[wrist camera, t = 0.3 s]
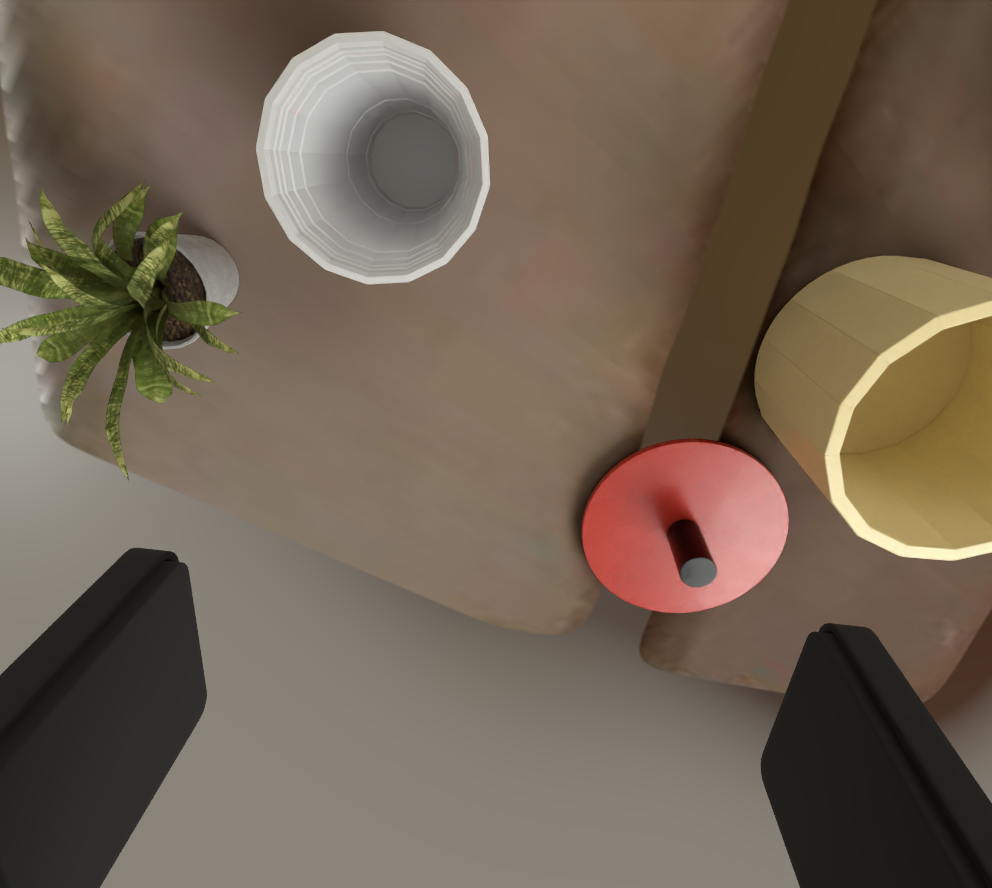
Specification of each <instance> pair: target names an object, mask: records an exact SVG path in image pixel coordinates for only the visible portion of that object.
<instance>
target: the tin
mask: <svg viewBox="0 0 992 888" xmlns="http://www.w3.org/2000/svg"><path fill="white" fill-rule="evenodd" d="M754 384H755V393H756V398H757V402H758V405H759V408H760V411H761V416H762V418H763V419H764V420H765V421H766V423H767V424H768V425H769V427H770V428H771V429H772V431H773V432H774V433H775V434H776V436H777V437H778V438H779V440H780V441H781V442H782V443H783V445H784V446H785V447H786V448H787V450H788V451H789V452H790V453H791V455H792V456H793V457H794V458H795V459H796V461H797V462H798V463H799V464H800V466H801V467H802V468H803V469H804V471H805V472H806V473H807V474H808V476H809V477H810V478H811V479H812V480H813V482H814V483H815V484H816V485H817V487H818V488H819V489H820V490H821V492H822V493H823V494H824V495H825V497H826V498H827V499H828V500H829V501H830V503H831V504H832V505H833V506H834V508H835V509H836V510H837V511H838V513H839V514H840V515H841V516H842V518H843V519H844V520H845V521H846V522H847V524H848V525H849V526H850V527H851V529H852V530H853V531H854V532H855V534H856V535H857V536H859V537H861V538H863V539H865V540H867V541H869V542H871V543H873V544H875V545H877V546H880V547H882V548H884V549H886V550H888V551H890V552H892V553H894V554H896V555H898V556H901V557H912V558H924V559H936V560H948V561H953V560H959V559H964V558H968V557H973V556H977V555H982V554H986V553H991V552H992V278H989V277H986V276H983V275H979V274H976V273H973V272H969V271H966V270H963V269H959V268H956V267H952V266H949V265H946V264H942V263H939V262H936V261H932V260H929V259H923V258H912V257H904V256H877V257H870V258H865V259H861V260H857V261H853V262H850V263H848V264H845V265H842V266H840V267H837V268H835V269H833V270H831V271H829V272H827V273H825V274H823V275H821V276H820V277H818V278H817V279H815V280H814V281H812V282H811V283H809V284H808V285H807V286H805V287H804V288H803V289H802V290H800V291H799V292H798V293H797V294H796V295H795V296H794V297H793V298H792V299H791V300H790V301H789V302H788V303H787V304H786V305H785V306H784V307H783V308H782V310H781V311H780V312H779V314H778V315H777V316H776V317H775V319H774V321H773V322H772V324H771V325H770V327H769V329H768V330H767V332H766V335H765V337H764V339H763V341H762V343H761V346H760V350H759V353H758V356H757V361H756V366H755V380H754Z"/></svg>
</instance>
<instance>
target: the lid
mask: <svg viewBox="0 0 992 888" xmlns="http://www.w3.org/2000/svg"><path fill="white" fill-rule="evenodd" d="M788 526H789V514H788V506H787V502H786V499H785V495H784V493H783V491H782V489H781V487H780V485H779V483H778V482H777V480H776V479H775V477H774V476H773V475H772V473H771V472H770V471H769V470H768V469H767V468H766V467H765V466H764V464H762V463H761V462H760V461H759V460H757V459H756V458H755V457H754V456H752V455H750V454H749V453H747V452H745V451H743V450H742V449H739V448H737V447H734V446H732V445H730V444H726V443H722V442H718V441H713V440H706V439H680V440H671V441H667V442H662V443H659V444H655V445H652V446H649V447H646V448H644V449H642V450H640V451H638V452H636V453H633V454H632V455H630V456H629V457H627V458H625V459H624V460H622V461H621V462H619V463H618V464H617V465H616V466H614V467H613V468H612V469H611V470H610V471H609V472H608V473H607V474H606V475H605V476H604V477H603V478H602V479H601V481H600V482H599V483H598V485H597V486H596V487H595V489H594V491H593V492H592V494H591V496H590V498H589V500H588V502H587V505H586V508H585V510H584V515H583V520H582V542H583V549H584V552H585V556H586V559H587V561H588V563H589V566H590V568H591V569H592V571H593V572H594V574H595V576H596V577H597V578H598V579H599V580H600V582H601V583H602V584H603V585H604V586H605V587H606V588H607V589H609V590H610V591H611V592H612V593H614V594H615V595H617V596H618V597H619V598H621V599H623V600H625V601H627V602H629V603H631V604H634V605H636V606H639V607H641V608H645V609H649V610H653V611H659V612H666V613H686V612H695V611H701V610H706V609H710V608H713V607H717V606H719V605H722V604H725V603H727V602H729V601H731V600H733V599H735V598H737V597H739V596H741V595H742V594H744V593H746V592H747V591H749V590H750V589H751V588H753V587H754V586H755V585H756V584H757V583H759V582H760V581H761V580H762V579H763V578H764V577H765V576H766V575H767V574H768V573H769V571H770V570H771V569H772V567H773V566H774V564H775V563H776V561H777V560H778V558H779V556H780V554H781V552H782V550H783V547H784V545H785V542H786V538H787V533H788Z"/></svg>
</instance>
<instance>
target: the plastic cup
mask: <svg viewBox="0 0 992 888" xmlns="http://www.w3.org/2000/svg"><path fill="white" fill-rule="evenodd" d="M256 152H257V157H258V163H259V168H260V174H261V179H262V184H263V190H264V195H265V198H266V200H267V202H268V204H269V205H270V207H271V209H272V211H273V212H274V214H275V216H276V217H277V219H278V221H279V223H280V224H281V226H282V228H283V229H284V231H285V233H286V235H287V236H288V238H289V240H290V241H292V242H293V243H294V244H295V245H296V246H298V247H299V248H300V249H301V250H302V251H304V252H305V253H306V254H307V255H308V256H309V257H311V258H312V259H313V260H314V261H315V262H317V263H318V264H319V265H320V266H321V267H323V268H324V269H325V270H327V271H330V272H333V273H336V274H339V275H342V276H345V277H347V278H350V279H353V280H356V281H359V282H362V283H365V284H383V283H402V282H410V281H412V280H414V279H417V278H419V277H421V276H423V275H425V274H427V273H429V272H431V271H433V270H435V269H437V268H439V267H441V266H443V265H445V264H447V263H448V262H449V260H450V259H451V258H452V257H453V256H454V255H455V253H456V252H457V251H458V250H459V249H460V248H461V246H462V245H463V244H464V243H465V242H466V241H467V239H468V238H469V237H470V236H471V235H472V233H473V232H474V231H475V230H476V227H477V224H478V221H479V218H480V215H481V212H482V209H483V206H484V202H485V199H486V196H487V193H488V190H489V187H490V174H489V153H488V135H487V133H486V131H485V128H484V126H483V124H482V121H481V119H480V117H479V114H478V112H477V110H476V107H475V105H474V103H473V100H472V98H471V96H470V93H469V91H468V89H467V87H466V86H465V85H464V84H463V83H462V82H461V81H460V80H459V79H458V78H457V77H456V76H455V75H454V74H453V73H452V72H451V71H450V70H449V69H448V68H447V67H446V66H445V65H444V64H443V63H442V62H441V61H440V60H439V59H438V58H437V57H436V56H435V55H434V54H433V53H432V51H431V50H428V49H426V48H423V47H421V46H418V45H416V44H414V43H411V42H409V41H406V40H404V39H402V38H399V37H397V36H394V35H392V34H389V33H387V32H385V31H374V32H356V33H337V34H333V35H331V36H329V37H328V38H326V39H324V40H323V41H321V42H319V43H317V44H316V45H314V46H312V47H310V48H309V49H307V50H305V51H304V52H302V53H300V54H298V55H297V56H295V57H293V58H292V59H291V61H290V62H289V64H288V65H287V67H286V68H285V70H284V71H283V73H282V74H281V76H280V77H279V79H278V80H277V82H276V83H275V85H274V86H273V88H272V89H271V91H270V92H269V93H268V95H267V96H266V98H265V101H264V107H263V112H262V117H261V123H260V128H259V133H258V139H257V144H256Z"/></svg>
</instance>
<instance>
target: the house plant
mask: <svg viewBox="0 0 992 888" xmlns="http://www.w3.org/2000/svg"><path fill="white" fill-rule="evenodd" d="M144 182H145V181H144ZM144 182H143V183H142V184H140V185H139V186H137V187H136V188H135V189H134V190H133V191H131V192H130V193H128V194H127V195H125V196H124V197H123V198H122V199H121V200H120V201H119V202H118V203H116V204H114V205H113V206H112V207H111V208H110V209H108V210H107V211H106V212H105V213H104V215H103V216H102V217H101V218H100V219H99V220H98V222H97V224H96V226H95V228H94V230H93V235H92V240H91V241H92V246H93V250H94V253H93V251H92V250H91V249H90V248H89V246H88V245H86V244H85V243H84V242H83V241H81V240H80V239H79V238H77V237H76V236H75V235H74V234H73V233H72V232H70V231H69V230H68V229H67V228H66V226H65V225H64V223H63V222H62V220H61V218H60V217H59V215H58V213H57V211H56V209H55V208H54V207H53V205H52V204H51V203H50V201H49V200H48V199H47V198H46V196H45V194H44V193H43V187H42V189H41V193H40V205H41V213H42V218H43V220H44V223H45V225H46V227H47V229H48V231H49V233H50V235H51V236H52V237H53V239H54V240H55V241H56V242H57V244H58V245H59V246H60V247H61V249H62V250H63V251H64V252H65V253H66V255H64V254H62V253H59V252H57V251H54V250H50V249H47V248H43V246H42V244H41V242H40V240H39V238H38V236H37V234H36V232H35V230H34V228H33V227H32V225H31V223H30V222H29V223H30V225H31V228H32V230H33V232H34V235H35V237H36V239H37V242H38V245H39V246H36V245H34V244H32V243H30V242H28V241H27V238H26V242H27V246H28V249H29V251H30V254H31V257H32V259H33V260H34V261H35V262H36V263H37V264H38V265H39V266H41V267H42V268H43V269H44V270H42V269H39V268H36V267H33V266H29V265H26V264H23V263H20V262H17V261H14V260H11V259H8V258H5V257H0V285H2V286H6V287H9V288H12V289H15V290H18V291H21V292H24V293H26V294H30V295H34V296H38V297H42V298H46V299H58V298H69V299H73V300H74V301H75V302H76V303H79V304H81V306H76V307H71V308H67V309H63V310H60V311H56V312H52V313H48V314H43V315H38V316H33V317H30V318H27V319H25V320H22V321H19V322H17V323H15V324H13V325H11V326H9V327H7V328H5V329H3V330H1V331H0V344H2V343H6V342H14V341H20V340H23V339H26V338H28V337H31V336H44V335H52V334H54V335H52V336H50V337H48V338H46V339H45V340H44V341H43V342H42V343H41V345H40V347H39V348H38V350H37V353H36V354H37V355H38V356H39V357H41V358H43V359H45V360H47V361H49V362H60V361H63V360H66V359H68V358H70V357H71V356H73V355H74V354H76V353H77V352H78V351H79V350H80V349H82V348H83V347H84V346H85V345H87V344H88V343H89V342H90V341H92V340H93V339H94V340H93V341H92V342H91V343H90V344H89V345H88V346H87V348H86V349H85V350H84V351H83V353H82V354H81V355H80V356H79V358H78V359H77V360H76V362H75V363H74V364H73V365H72V367H71V369H70V371H69V373H68V375H67V378H66V380H65V383H64V386H63V390H62V394H61V402H60V408H61V419H62V423H63V421H64V420H65V418H66V420H67V423H68V421H69V418H70V416H71V413H72V404H73V402H74V400H75V399H76V398H77V397H78V395H79V394H80V393H81V392H82V391H83V389H84V387H85V385H86V382H87V380H88V378H89V376H90V374H91V372H92V371H93V369H94V368H95V366H96V364H97V363H98V362H99V361H100V360H101V359H102V358H103V357H104V356H105V355H106V353H107V352H108V351H109V350H110V349H111V347H112V346H113V345H114V344H115V343H116V342H117V341H118V340H120V339H121V338H122V337H123V336H124V335H128V336H129V338H128V340H127V342H126V345H125V347H124V350H123V353H122V356H121V359H120V363H119V368H118V372H117V375H116V379H115V382H114V385H113V388H112V392H111V395H110V399H109V403H108V408H107V414H106V432H107V435H108V439H109V442H110V445H111V447H112V449H113V452H114V455H115V457H116V460H117V462H118V464H119V467H120V468H121V469H122V471H123V472H124V473H125V475H126V476H127V478H128V473H127V470H126V466H125V462H124V458H123V454H122V450H121V444H120V434H119V415H120V407H121V403H122V399H123V395H124V392H125V388H126V385H127V379H128V372H129V367H130V363H131V359H133V365H134V368H135V382H136V386H137V390H138V391H139V392H140V393H141V394H142V395H143V396H145V397H147V398H149V399H150V400H153V401H156V402H159V403H164V401H165V400H166V399H167V398H168V397H169V396H170V395H171V394H172V389H173V386H175V387H177V388H179V389H181V390H183V391H185V392H187V393H190V394H193V395H199V394H197V393H195V392H193V391H192V390H190V389H188V388H187V387H185V386H184V385H182V384H180V383H179V382H178V381H177V380H175V379H174V378H173V377H172V376H171V375H170V374H169V372H168V370H170V371H172V372H174V373H178V374H181V375H184V376H187V377H190V378H192V379H195V380H199V381H209V382H214V381H212V380H211V379H209V378H207V377H205V376H203V375H201V374H199V373H197V372H195V371H193V370H192V369H190V368H188V367H186V366H184V365H182V364H180V363H179V362H177V361H175V360H174V359H172V358H171V357H170V356H168V355H167V354H165V353H164V352H163V351H162V349H167V350H168V349H175V348H182V347H184V346H186V345H188V344H190V343H193V342H194V341H195V340H196V339H197V338H198V337H199V336H200V337H201V338H202V339H203V340H204V341H205V342H206V343H207V344H209V345H211V346H213V347H217V348H219V349H221V350H223V351H226V352H229V353H237V352H236V351H235V350H233V349H232V348H230V347H229V346H227V345H226V344H224V343H223V342H221V341H220V340H218V339H217V338H216V337H215V336H213V335H212V334H211V333H210V332H209V331H208V330H207V328H208V327H209V326H213V325H216V324H219V323H221V322H223V321H225V320H226V319H228V318H230V317H232V316H234V315H236V314H239V313H242V312H234V311H232V310H231V309H229V308H227V306H228V305H229V304H230V303H231V302H232V301H233V299H234V298H235V296H236V294H237V291H238V286H239V274H238V271H237V267H236V264H235V262H234V261H233V259H232V257H231V256H230V254H229V253H228V252H227V251H226V250H225V249H224V248H223V246H221V245H220V244H218V243H217V242H215V241H214V240H212V239H209V238H207V237H204V236H197V235H185V234H177V229H178V223H179V218H180V216H181V215H182V213H183V212H184V211H183V212H181V213H179V214H177V215H175V216H170V217H165V218H160V219H157V220H156V221H155V222H154V223H153V224H151V225H150V227H149V228H148V230H147V232H139V231H138V232H137V230H138V228H139V225H140V223H141V221H142V218H143V214H144V209H145V198H146V194H147V190H148V189H149V188H150V187H151V186H150V187H147V188H145V189H142V190H140V189H141V187H142V186H143V184H144ZM112 222H113V240H111V241H110V242H109V243H108V245H107V244H106V243H105V242H104V241H103V240H102V238H101V236H102V234H103V232H104V231H105V230H106V229H107V228H108V227H109V225H110V224H111V223H112ZM214 383H215V382H214ZM216 384H217V383H216ZM199 396H200V395H199Z"/></svg>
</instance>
